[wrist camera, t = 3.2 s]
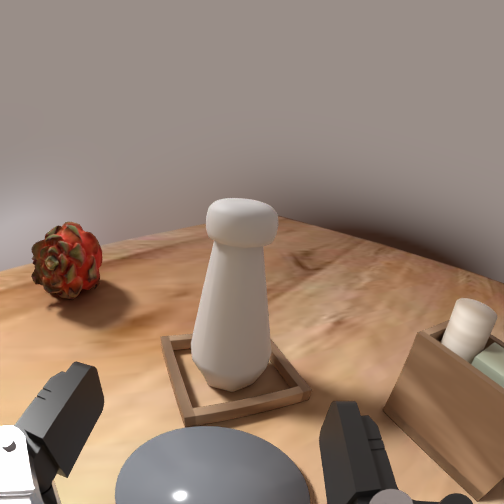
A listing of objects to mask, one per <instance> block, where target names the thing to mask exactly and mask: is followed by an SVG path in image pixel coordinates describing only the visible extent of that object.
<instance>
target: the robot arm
mask: <svg viewBox="0 0 504 504" xmlns="http://www.w3.org/2000/svg"><path fill="white" fill-rule="evenodd" d="M103 407H104V395H103V392H102V388H101V384H100V380H99V376H98V372H97V369H96V367H94V366H90V365H87V364H83V363H80V362H74V363H73V364H72V365H71V366H70V368H69V369H68V370H67V372H66V373H65V372H62V371H61V372H60V373H58V374H56V375H55V376H53V377H52V378H50V379H49V381H48V382H47V383H46V384H45V386H44V387H43V390H41V391H40V392H39V393H38V395H37V398H36V397H35V399H34V400H33V401H32V403H31V404H30V405H29V407H28V408H27V409H26V411H25V412H24V413H23V415H22V416H21V417H20V419H19V420H18V421H17V423H16V424H15V425H14V426H13V427H12V426H3V427H0V504H61V502H60V498H59V495H58V492H57V488H56V485H55V482H54V478H55V476H56V474H59V475H62V476H64V477H66V478H68V476H69V474H70V472H71V470H72V468H73V466H74V464H75V462H76V460H77V458H78V456H79V454H80V452H81V450H82V448H83V447H84V445H85V443H86V441H87V439H88V437H89V435H90V433H91V431H92V429H93V428H94V426H95V424H96V422H97V420H98V418H99V416H100V415H101V413H102V410H103ZM381 439H382V437H381V434H380V431H379V428H378V426H377V425H376V424H375V422H374V421H373V420H372V419H371V418H370V417H369V415H367V416H361V415H360V412H359V409H358V405H357V403H356V402H355V401H333V402H332V403H331V405H330V408H329V410H328V413H327V415H326V418H325V420H324V423H323V425H322V428H321V431H320V437H319V445H320V452H321V459H322V466H323V474H324V481H325V489H326V497H327V504H473V503H472V501H471V500H470V499H469V498H468V497H467V496H465V495H463V494H458V493H454V494H450V495H448V496H446V497H445V498H444V499H442V500H441V501H440V502H427V501H415V500H412V499H411V498H410V497H409V496H408V495H407V494H406V493H404V492H402V491H400V490H399V489H398V487H397V485H396V482H395V478H394V475H393V472H392V469H391V465H390V462H389V459H388V456H387V453H386V450H385V447H384V444H383V441H382V440H381Z"/></svg>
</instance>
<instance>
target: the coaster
mask: <svg viewBox="0 0 504 504" xmlns="http://www.w3.org/2000/svg"><path fill="white" fill-rule="evenodd" d="M115 501H116V504H310V495H309V491H308V487H307V484H306V482H305V479H304V477H303V475H302V474H301V472H300V470H299V469H298V467H297V466H296V465H295V464H294V462H293V461H292V460H291V459H290V458H289V457H288V456H287V455H286V454H285V453H283V452H282V451H281V450H280V449H278V448H277V447H275V446H274V445H272V444H271V443H269V442H267V441H265V440H263V439H261V438H259V437H257V436H254V435H252V434H249V433H246V432H243V431H240V430H235V429H231V428H224V427H215V426H196V427H186V428H181V429H176V430H173V431H169V432H166V433H164V434H161V435H159V436H156V437H154V438H153V439H151V440H149V441H147V442H146V443H144V444H143V445H141V446H140V447H139V448H138V449H137V450H135V451H134V452H133V453H132V454H131V456H130V457H129V458H128V459H127V460H126V462H125V463H124V465H123V467H122V468H121V471H120V473H119V475H118V478H117V483H116V488H115Z"/></svg>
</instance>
